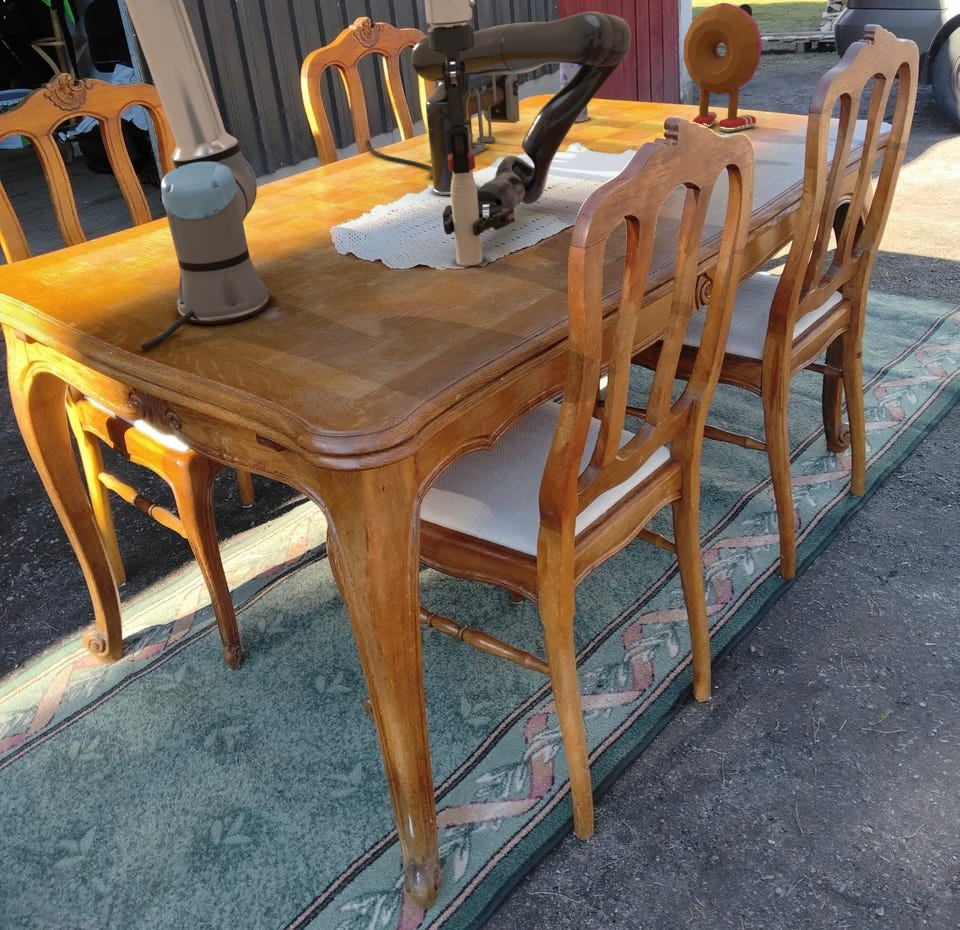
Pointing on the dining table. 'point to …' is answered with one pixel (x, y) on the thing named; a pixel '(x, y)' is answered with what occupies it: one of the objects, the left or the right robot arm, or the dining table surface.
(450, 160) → the cap
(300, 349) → the dining table surface
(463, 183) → the bottle
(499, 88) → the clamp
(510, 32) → the right robot arm
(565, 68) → the aerosol can
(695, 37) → the toy
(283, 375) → the dining table surface
